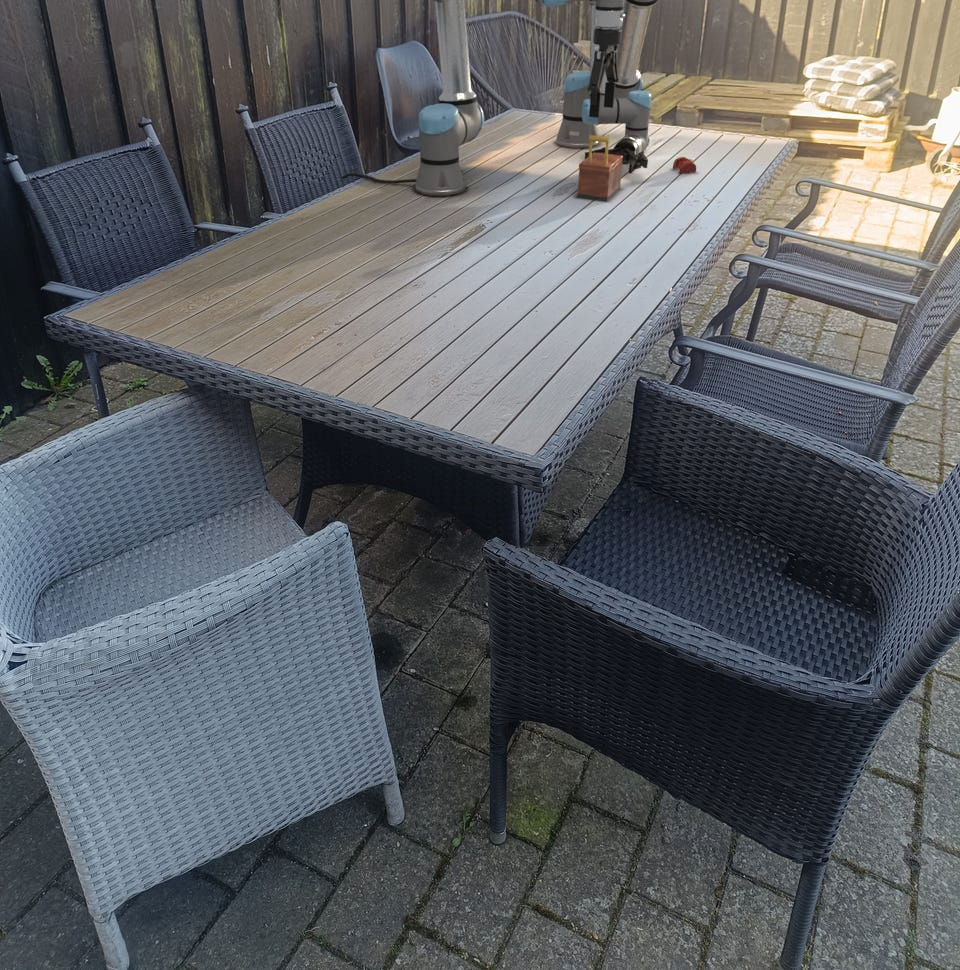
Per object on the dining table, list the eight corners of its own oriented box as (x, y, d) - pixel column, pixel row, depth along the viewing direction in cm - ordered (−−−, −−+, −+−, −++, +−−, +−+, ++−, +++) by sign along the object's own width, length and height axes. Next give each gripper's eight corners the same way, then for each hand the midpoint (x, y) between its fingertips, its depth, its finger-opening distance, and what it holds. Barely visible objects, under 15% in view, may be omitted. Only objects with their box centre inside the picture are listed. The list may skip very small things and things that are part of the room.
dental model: (688, 153, 276) (699, 160, 270) (686, 166, 279) (697, 173, 272) (672, 155, 275) (682, 161, 269) (670, 168, 278) (681, 175, 271)
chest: (606, 201, 249) (609, 171, 244) (577, 197, 252) (579, 167, 247) (620, 188, 259) (622, 159, 254) (591, 185, 262) (593, 156, 257)
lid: (609, 171, 244) (611, 140, 239) (578, 167, 247) (580, 137, 242) (622, 159, 254) (625, 129, 249) (593, 156, 257) (595, 126, 252)
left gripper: (607, 34, 216) (600, 122, 228) (634, 22, 234) (626, 104, 247) (580, 32, 218) (574, 120, 231) (608, 21, 237) (602, 102, 249)
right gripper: (663, 166, 270) (647, 183, 255) (589, 157, 279) (568, 174, 263) (667, 141, 266) (650, 158, 250) (591, 133, 274) (570, 149, 258)
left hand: (601, 112), depth 239 cm, fingers open, 13 cm apart
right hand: (608, 166), depth 256 cm, fingers open, 13 cm apart
